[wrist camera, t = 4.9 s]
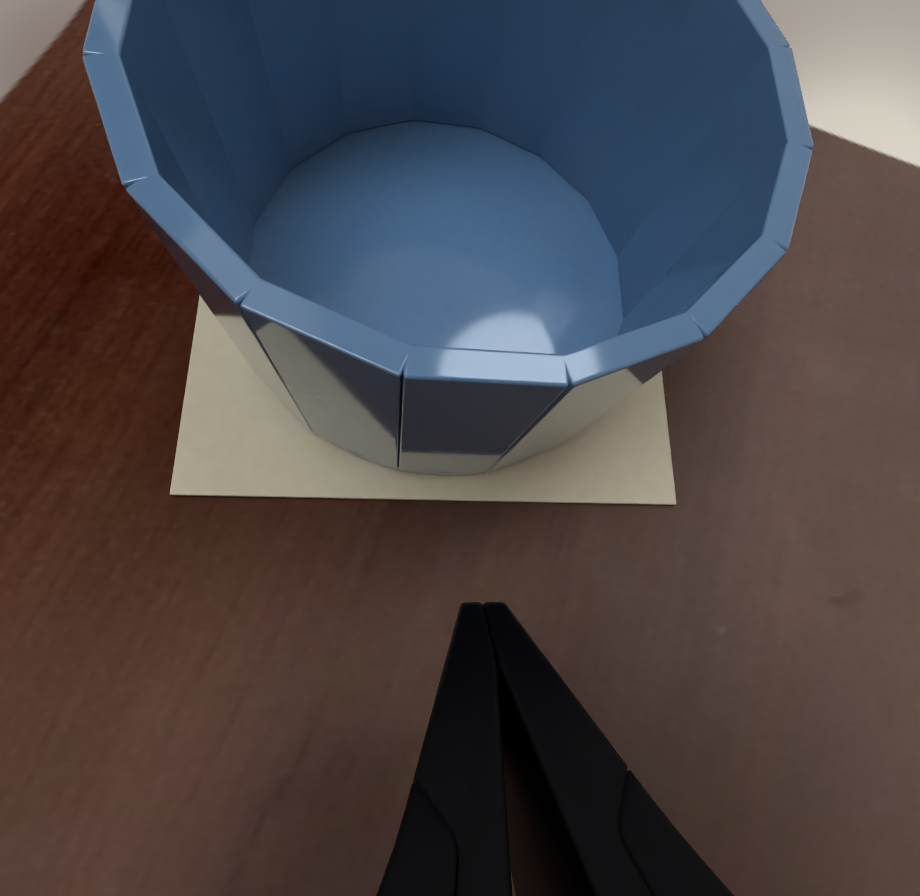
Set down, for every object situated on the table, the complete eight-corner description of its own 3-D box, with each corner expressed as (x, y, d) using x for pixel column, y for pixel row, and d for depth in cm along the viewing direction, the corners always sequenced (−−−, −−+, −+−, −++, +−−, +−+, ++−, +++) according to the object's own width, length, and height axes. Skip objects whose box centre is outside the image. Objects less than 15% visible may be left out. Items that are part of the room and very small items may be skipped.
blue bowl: (643, 481, 19) (871, 402, 10) (211, 470, 17) (2, 356, 8) (612, 148, 23) (754, -124, 14) (259, 106, 21) (157, -249, 12)
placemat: (673, 505, 19) (676, 504, 19) (171, 495, 17) (169, 494, 17) (630, 103, 24) (632, 100, 24) (238, 50, 22) (237, 46, 22)
